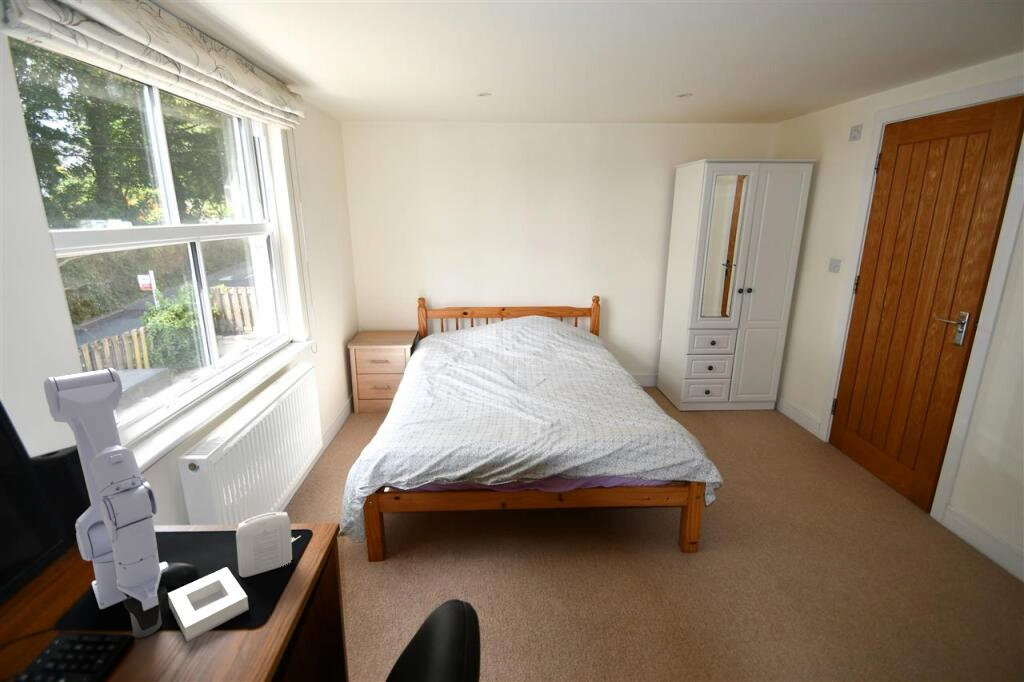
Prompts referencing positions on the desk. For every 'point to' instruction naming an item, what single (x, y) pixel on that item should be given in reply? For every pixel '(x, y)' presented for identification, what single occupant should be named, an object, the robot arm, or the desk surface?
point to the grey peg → (138, 631)
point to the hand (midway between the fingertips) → (146, 618)
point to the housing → (207, 603)
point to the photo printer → (263, 543)
